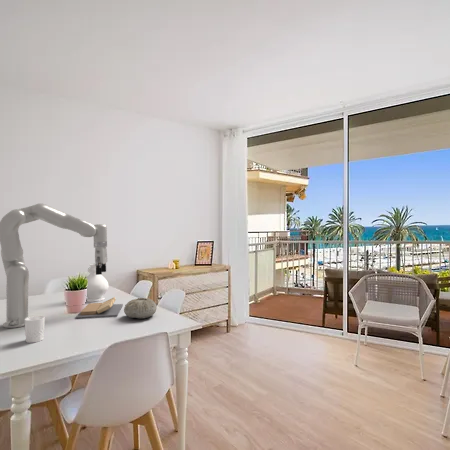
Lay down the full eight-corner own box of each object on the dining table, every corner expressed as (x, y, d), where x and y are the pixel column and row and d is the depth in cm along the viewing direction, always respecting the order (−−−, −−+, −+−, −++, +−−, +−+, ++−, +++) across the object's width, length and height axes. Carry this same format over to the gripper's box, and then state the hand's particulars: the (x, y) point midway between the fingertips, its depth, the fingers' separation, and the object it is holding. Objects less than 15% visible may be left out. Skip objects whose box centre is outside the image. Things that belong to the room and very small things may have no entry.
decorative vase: (92, 303, 211) (92, 266, 211) (75, 300, 220) (75, 264, 220) (114, 298, 226) (114, 263, 226) (97, 295, 235) (97, 261, 235)
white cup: (48, 337, 147) (48, 315, 147) (38, 343, 140) (38, 320, 140) (30, 337, 147) (30, 315, 147) (20, 343, 139) (20, 320, 139)
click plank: (110, 307, 183) (109, 304, 183) (98, 313, 182) (96, 310, 181) (115, 299, 202) (114, 297, 202) (104, 305, 201) (103, 302, 201)
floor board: (117, 316, 181) (117, 311, 181) (75, 318, 176) (75, 313, 176) (122, 305, 206) (122, 300, 206) (86, 307, 202) (86, 302, 202)
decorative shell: (145, 323, 169) (145, 304, 169) (117, 319, 175) (117, 301, 175) (162, 314, 186) (162, 297, 186) (136, 311, 192) (136, 294, 192)
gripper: (102, 245, 184) (103, 275, 184) (110, 243, 201) (111, 270, 201) (89, 246, 183) (90, 275, 183) (98, 244, 200) (98, 271, 201)
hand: (101, 273), depth 192 cm, fingers open, 9 cm apart
